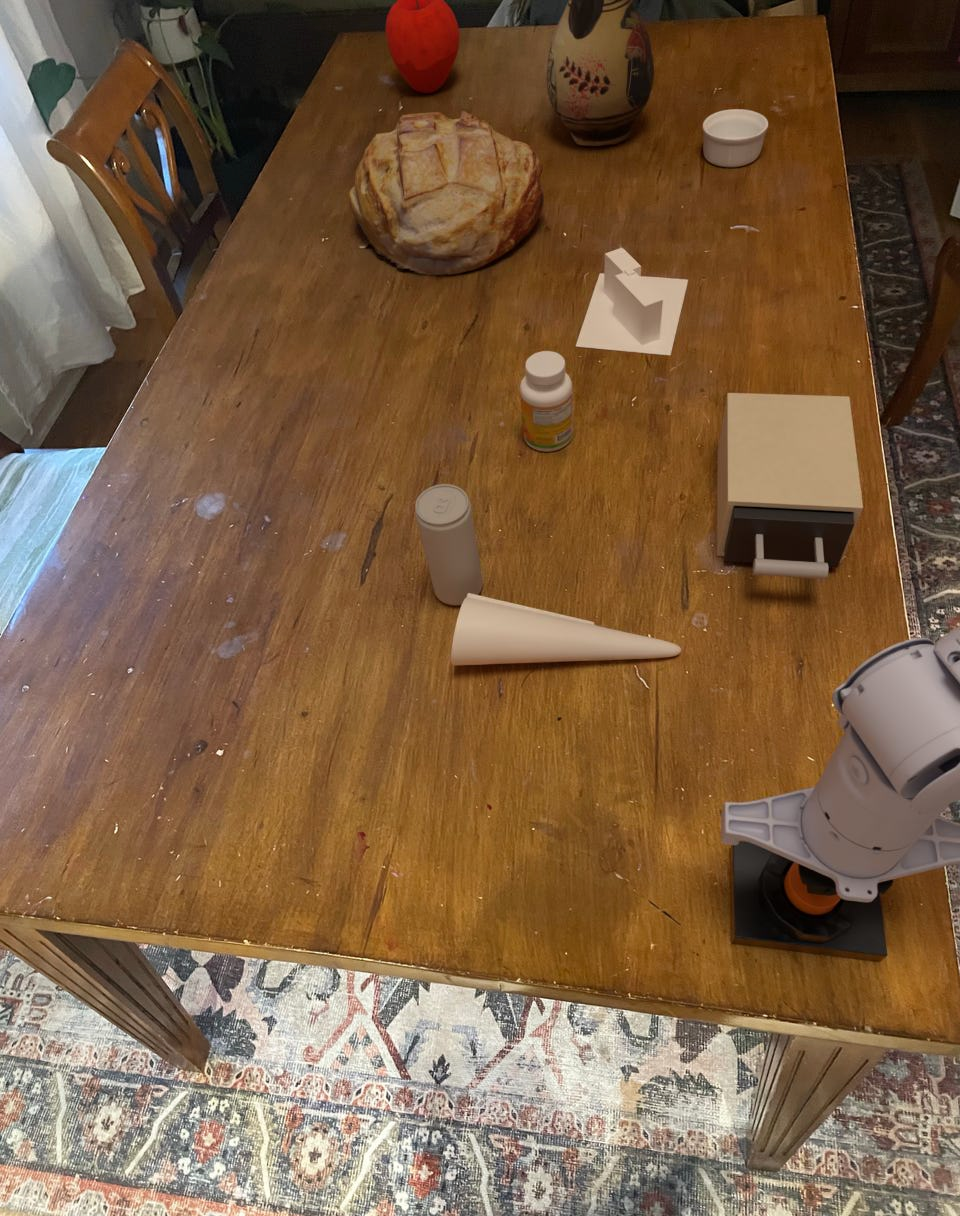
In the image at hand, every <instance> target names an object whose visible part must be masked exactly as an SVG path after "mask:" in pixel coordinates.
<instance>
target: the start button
mask: <svg viewBox="0 0 960 1216" xmlns="http://www.w3.org/2000/svg"><path fill="white" fill-rule="evenodd" d="M784 888H785V893H786V895H787V897H788V899H789V900H790V902H791V903H792V904H793V905H794V906H795V907H796V908H797V909H799V910H800V911H802V912H804V913H807V914H810V915H822V914H826V913H828V912H829V911H831V910H832V909H833V908H834V907H835V906H836V904H837V903H838V902H839V901H840V899H841V897H840V896H839V895H838V894H836V895H832V896H826V895H817V894H809V893H808V892H807V885H805V884H803V883H802V881H801V878H800V875H799V869H798V863H796V862H794V863H793V864H792V866H791V868H790V869H789V871H788V873H787V874H786V877H785V880H784Z"/></svg>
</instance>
